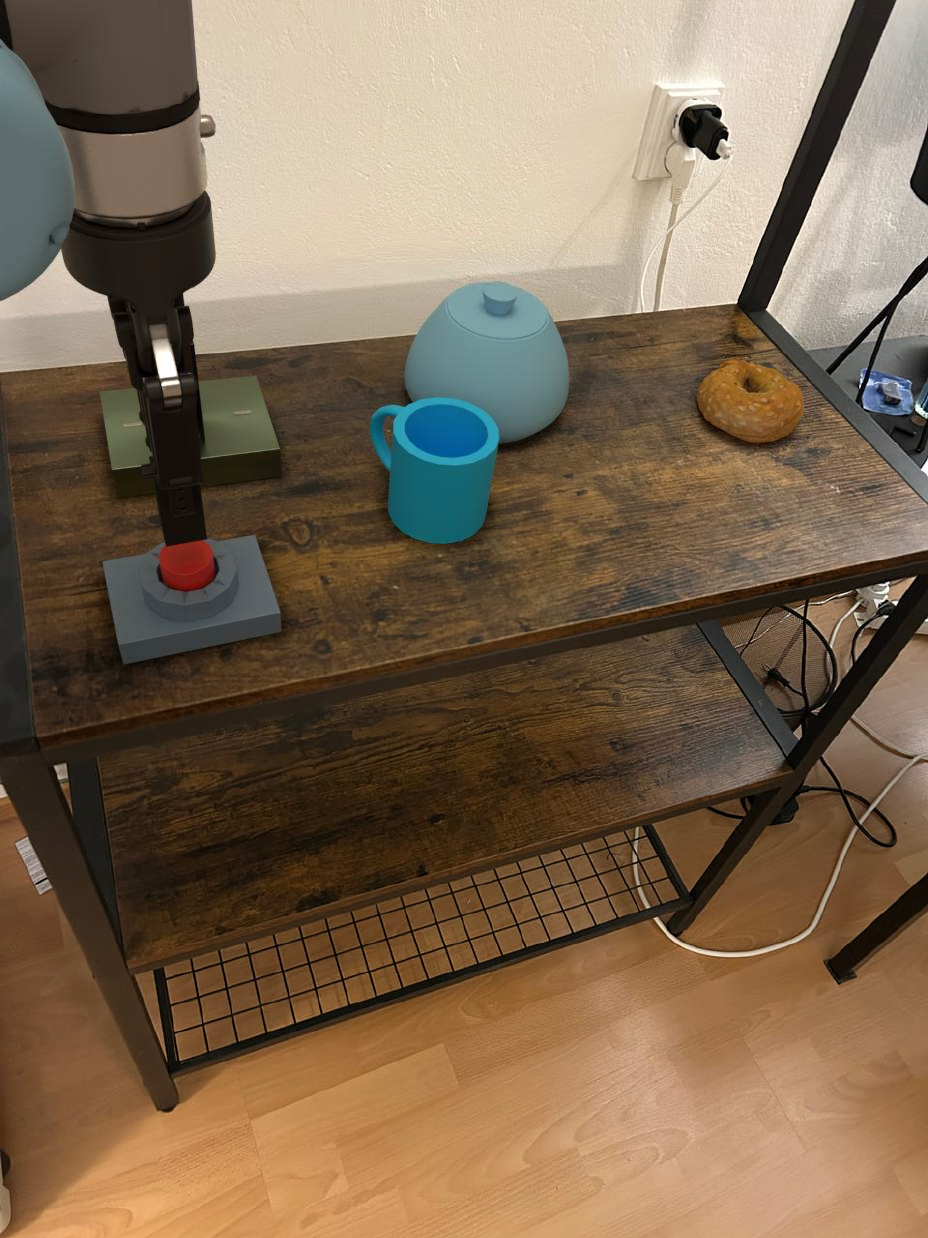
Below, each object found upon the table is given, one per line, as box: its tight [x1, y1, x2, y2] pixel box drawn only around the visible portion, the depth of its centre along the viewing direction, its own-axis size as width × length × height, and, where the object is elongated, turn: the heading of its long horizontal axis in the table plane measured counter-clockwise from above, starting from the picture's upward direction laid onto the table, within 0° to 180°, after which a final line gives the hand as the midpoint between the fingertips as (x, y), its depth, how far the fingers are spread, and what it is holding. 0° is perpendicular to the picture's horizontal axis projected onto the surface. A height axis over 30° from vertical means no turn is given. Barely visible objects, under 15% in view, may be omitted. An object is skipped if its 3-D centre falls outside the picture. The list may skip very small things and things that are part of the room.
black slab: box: [191, 339, 205, 441], centre depth 76 cm, size 6×2×9 cm, turn 19°
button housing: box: [101, 534, 283, 665], centre depth 69 cm, size 11×8×4 cm
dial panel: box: [98, 375, 282, 499], centre depth 80 cm, size 13×10×3 cm
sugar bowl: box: [403, 280, 570, 445], centre depth 86 cm, size 15×15×12 cm
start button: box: [159, 540, 215, 592], centre depth 67 cm, size 4×4×2 cm
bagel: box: [696, 358, 805, 444], centre depth 92 cm, size 10×11×5 cm
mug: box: [369, 397, 499, 545], centre depth 78 cm, size 12×8×8 cm
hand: (184, 535), depth 65 cm, fingers closed
